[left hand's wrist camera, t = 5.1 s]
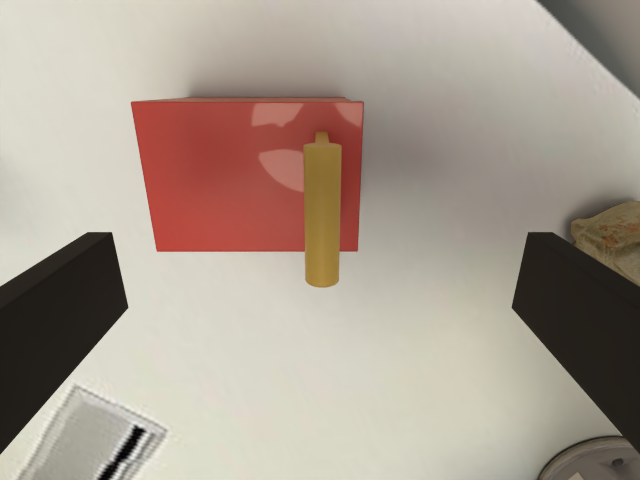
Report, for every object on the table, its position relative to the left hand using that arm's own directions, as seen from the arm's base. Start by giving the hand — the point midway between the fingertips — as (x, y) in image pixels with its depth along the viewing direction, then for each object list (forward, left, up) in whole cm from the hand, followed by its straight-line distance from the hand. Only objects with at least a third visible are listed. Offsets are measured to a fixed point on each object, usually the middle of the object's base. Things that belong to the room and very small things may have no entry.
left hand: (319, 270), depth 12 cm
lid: (+3, +2, -13) cm, 14 cm away
